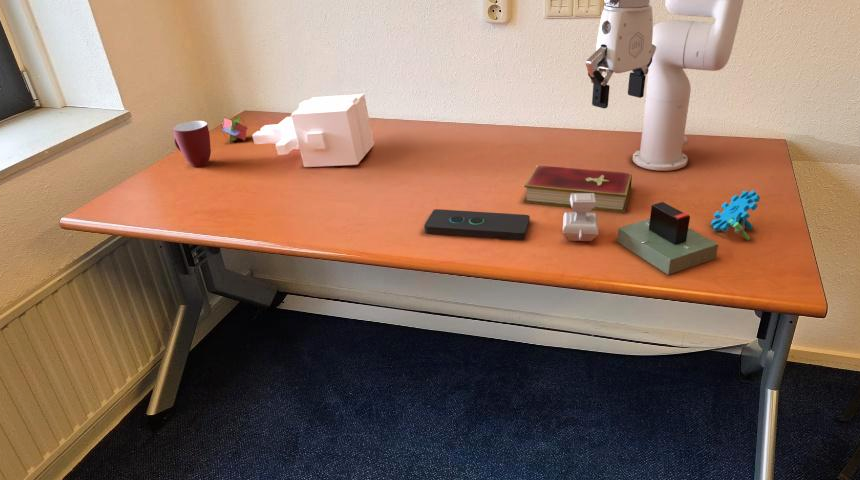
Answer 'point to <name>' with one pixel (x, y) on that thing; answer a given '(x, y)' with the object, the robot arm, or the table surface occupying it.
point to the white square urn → (581, 218)
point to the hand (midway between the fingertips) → (617, 101)
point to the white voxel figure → (323, 131)
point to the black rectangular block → (669, 223)
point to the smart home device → (478, 224)
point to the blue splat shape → (736, 213)
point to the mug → (193, 142)
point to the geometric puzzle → (234, 129)
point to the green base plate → (666, 247)
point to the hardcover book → (578, 187)
